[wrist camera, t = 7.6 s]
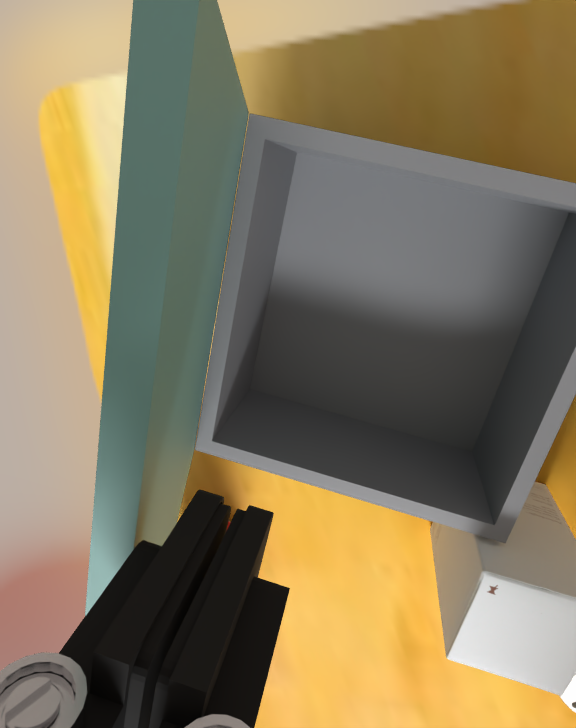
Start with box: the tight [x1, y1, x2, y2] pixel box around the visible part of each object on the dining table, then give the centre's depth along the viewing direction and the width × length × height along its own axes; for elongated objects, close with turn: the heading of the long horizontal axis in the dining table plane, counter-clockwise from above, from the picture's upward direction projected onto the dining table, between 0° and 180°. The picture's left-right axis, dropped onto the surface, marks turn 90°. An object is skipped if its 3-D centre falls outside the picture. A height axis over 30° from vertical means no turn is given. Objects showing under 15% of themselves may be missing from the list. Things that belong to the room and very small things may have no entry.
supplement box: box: [430, 482, 576, 696], centre depth 34 cm, size 7×7×13 cm
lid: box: [85, 0, 249, 616], centre depth 19 cm, size 20×20×1 cm
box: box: [195, 114, 576, 544], centre depth 32 cm, size 20×20×10 cm
